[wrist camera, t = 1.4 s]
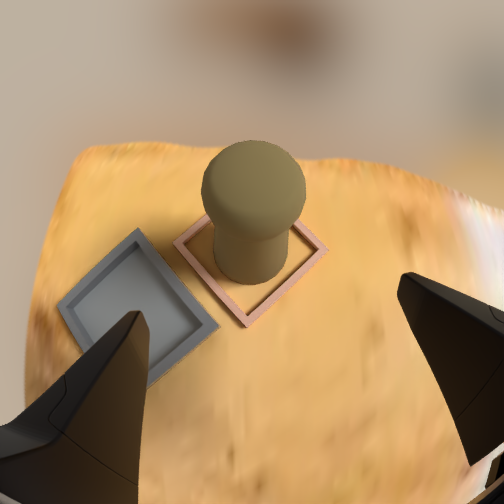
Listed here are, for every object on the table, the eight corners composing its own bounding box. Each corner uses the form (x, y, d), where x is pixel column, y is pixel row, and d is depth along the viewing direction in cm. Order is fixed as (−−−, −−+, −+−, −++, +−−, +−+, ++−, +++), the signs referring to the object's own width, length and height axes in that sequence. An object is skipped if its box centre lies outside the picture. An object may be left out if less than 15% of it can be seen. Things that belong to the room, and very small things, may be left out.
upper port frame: (327, 251, 22) (329, 249, 22) (247, 328, 20) (247, 327, 20) (253, 180, 24) (253, 177, 24) (173, 244, 22) (172, 242, 22)
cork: (247, 300, 21) (248, 264, 11) (198, 244, 22) (161, 168, 12) (303, 251, 22) (347, 179, 12) (253, 200, 24) (258, 106, 13)
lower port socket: (220, 326, 20) (219, 325, 19) (130, 402, 18) (122, 406, 17) (144, 233, 23) (138, 227, 21) (65, 307, 20) (56, 305, 19)
